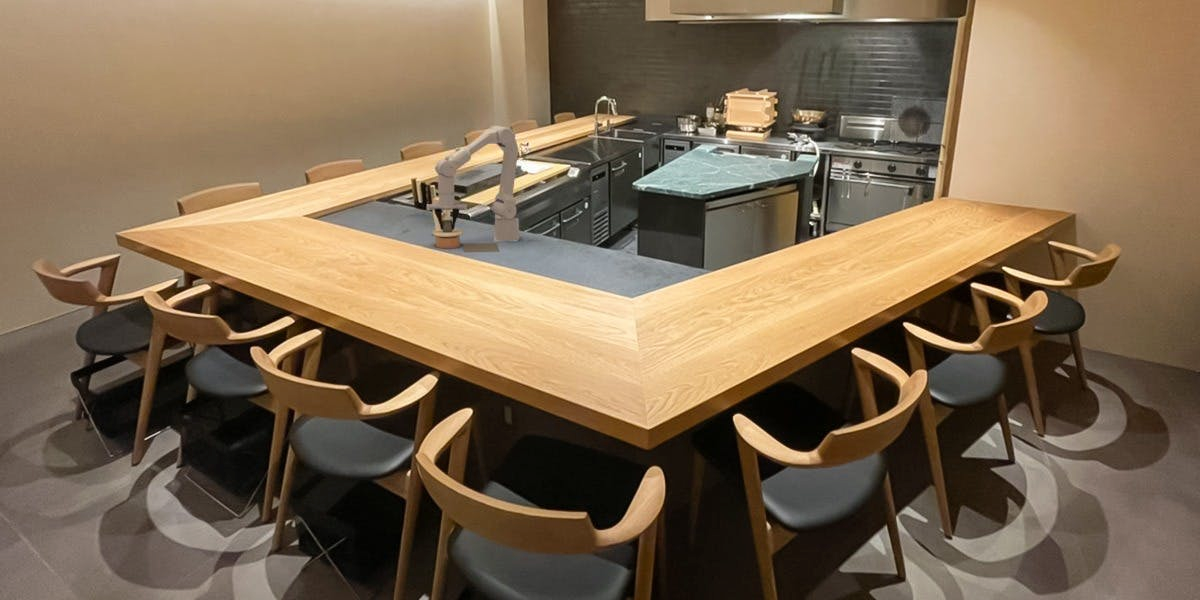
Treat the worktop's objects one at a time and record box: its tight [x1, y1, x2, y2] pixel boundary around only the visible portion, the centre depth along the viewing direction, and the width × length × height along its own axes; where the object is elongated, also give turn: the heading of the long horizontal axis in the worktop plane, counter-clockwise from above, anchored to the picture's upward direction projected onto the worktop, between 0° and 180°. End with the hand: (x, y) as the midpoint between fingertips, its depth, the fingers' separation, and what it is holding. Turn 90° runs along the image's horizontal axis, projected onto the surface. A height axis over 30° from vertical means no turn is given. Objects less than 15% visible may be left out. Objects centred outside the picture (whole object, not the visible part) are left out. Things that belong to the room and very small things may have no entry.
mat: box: [462, 242, 500, 253], centre depth 252 cm, size 13×13×1 cm
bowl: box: [435, 235, 461, 249], centre depth 252 cm, size 9×9×4 cm
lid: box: [432, 219, 463, 237], centre depth 251 cm, size 11×11×5 cm
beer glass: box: [432, 196, 451, 230], centre depth 267 cm, size 7×7×15 cm
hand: (447, 229), depth 251 cm, fingers closed on lid, 4 cm apart
